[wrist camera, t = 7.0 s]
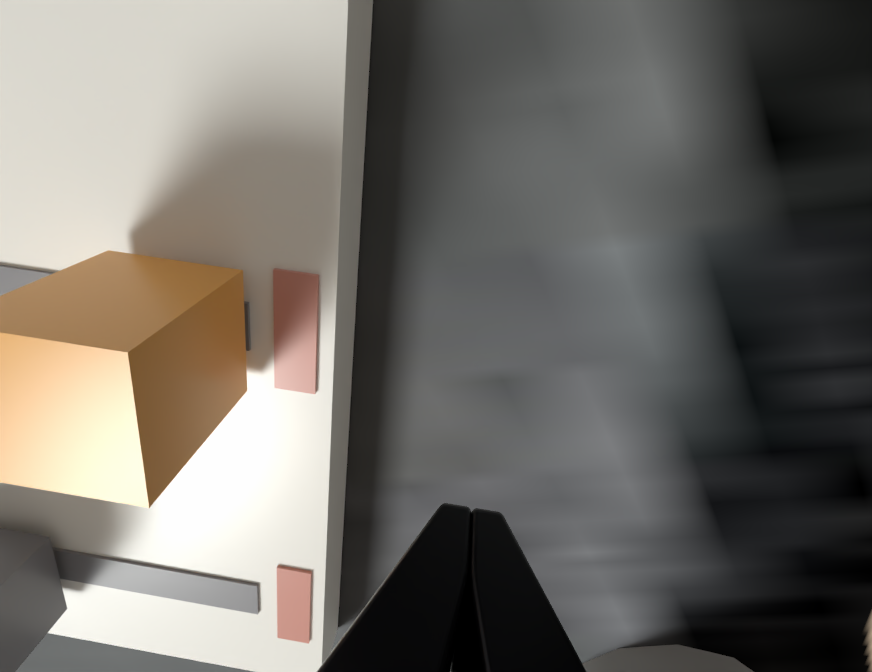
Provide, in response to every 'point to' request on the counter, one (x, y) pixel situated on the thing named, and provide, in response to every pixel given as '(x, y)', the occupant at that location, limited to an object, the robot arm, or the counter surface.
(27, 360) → the orange matte cube
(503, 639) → the robot arm
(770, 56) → the counter surface
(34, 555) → the switch
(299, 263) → the breaker panel
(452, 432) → the counter surface
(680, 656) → the cup
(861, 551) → the counter surface
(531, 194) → the counter surface
